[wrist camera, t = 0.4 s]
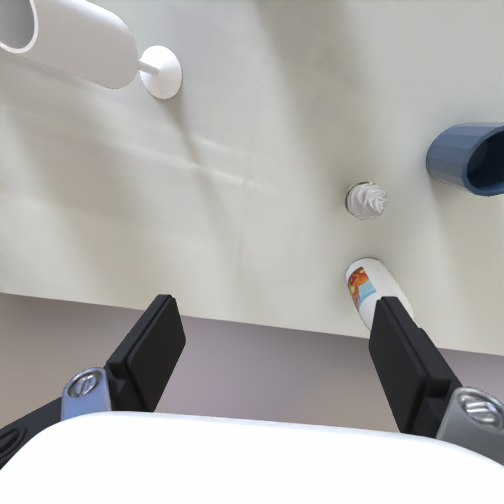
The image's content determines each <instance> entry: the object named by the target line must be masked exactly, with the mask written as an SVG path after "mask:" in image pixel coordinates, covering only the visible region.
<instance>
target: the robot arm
mask: <svg viewBox="0 0 504 504" xmlns="http://www.w3.org/2000/svg"><path fill="white" fill-rule="evenodd" d="M185 342H186V338H185V334H184V330H183V326H182V323H181V319H180V315H179V311H178V307H177V303H176V300H175V298H172V296H171V295H158V296H157V297H156V298H155V299H154V301H153V302H152V303H151V304H150V306H149V307H148V308H147V310H146V311H145V312H144V314H143V315H142V316H141V318H140V319H139V320H138V321H137V323H136V324H135V325H134V327H133V328H132V329H131V331H130V332H129V333H128V334H127V336H126V337H125V338H124V340H123V341H122V342H121V344H120V345H119V346H118V348H117V349H116V350H115V351H114V353H113V354H112V355H111V357H110V358H109V359H108V360H107V362H106V365H105V366H104V367H103V368H101V367H92V368H88V369H86V370H83V371H82V372H80V373H78V374H77V375H75V376H74V377H73V378H72V379H71V380H70V381H69V382H68V383H67V384H66V386H65V387H64V389H63V393H62V396H61V397H59V398H57V399H56V400H54V401H52V402H50V403H48V404H46V405H44V406H42V407H41V408H39V409H37V410H35V411H33V412H31V413H29V414H27V415H25V416H24V417H22V418H20V419H18V420H16V421H14V422H12V423H11V424H9V425H7V426H5V427H4V428H2V429H0V504H504V404H502V403H501V402H500V401H499V400H498V399H496V398H495V397H493V396H491V395H490V394H488V393H487V392H484V391H482V390H479V389H477V388H472V387H463V386H462V384H461V383H460V381H459V380H458V378H457V377H456V376H455V374H454V373H453V371H452V370H451V368H450V367H449V365H448V364H447V363H446V361H445V360H444V358H443V357H442V355H441V354H440V352H439V351H438V350H437V348H436V347H435V345H434V344H433V342H432V341H431V339H430V338H429V336H428V335H427V334H426V332H425V331H424V330H423V329H422V328H418V327H417V325H416V324H415V322H414V321H413V319H412V318H411V316H410V315H409V313H408V312H407V310H406V309H405V307H404V306H403V304H402V303H401V301H400V300H399V298H398V297H396V296H382V297H381V299H380V300H379V299H378V300H377V301H376V305H375V311H374V317H373V322H372V328H371V334H370V340H369V352H370V355H371V358H372V360H373V363H374V365H375V368H376V371H377V373H378V376H379V379H380V381H381V384H382V386H383V389H384V392H385V395H386V397H387V400H388V402H389V405H390V408H391V410H392V413H393V416H394V418H395V421H396V424H397V426H398V429H399V431H400V432H401V433H395V432H385V431H375V430H365V429H356V428H344V427H332V426H320V425H309V424H296V423H284V422H272V421H259V420H247V419H234V418H222V417H208V416H195V415H194V416H193V415H181V414H168V413H167V414H166V413H153V412H154V411H155V409H156V407H157V404H158V402H159V400H160V398H161V396H162V394H163V391H164V389H165V387H166V385H167V383H168V381H169V378H170V376H171V374H172V372H173V370H174V368H175V366H176V363H177V361H178V359H179V357H180V355H181V353H182V350H183V348H184V346H185ZM403 433H405V434H403Z"/></svg>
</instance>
